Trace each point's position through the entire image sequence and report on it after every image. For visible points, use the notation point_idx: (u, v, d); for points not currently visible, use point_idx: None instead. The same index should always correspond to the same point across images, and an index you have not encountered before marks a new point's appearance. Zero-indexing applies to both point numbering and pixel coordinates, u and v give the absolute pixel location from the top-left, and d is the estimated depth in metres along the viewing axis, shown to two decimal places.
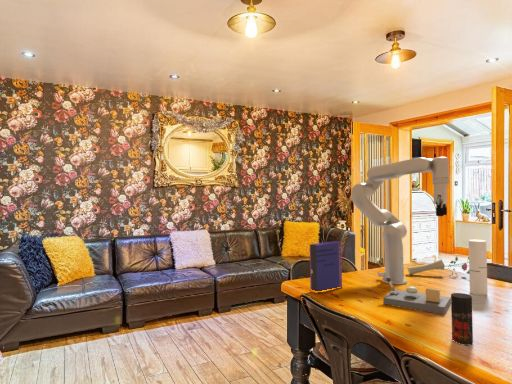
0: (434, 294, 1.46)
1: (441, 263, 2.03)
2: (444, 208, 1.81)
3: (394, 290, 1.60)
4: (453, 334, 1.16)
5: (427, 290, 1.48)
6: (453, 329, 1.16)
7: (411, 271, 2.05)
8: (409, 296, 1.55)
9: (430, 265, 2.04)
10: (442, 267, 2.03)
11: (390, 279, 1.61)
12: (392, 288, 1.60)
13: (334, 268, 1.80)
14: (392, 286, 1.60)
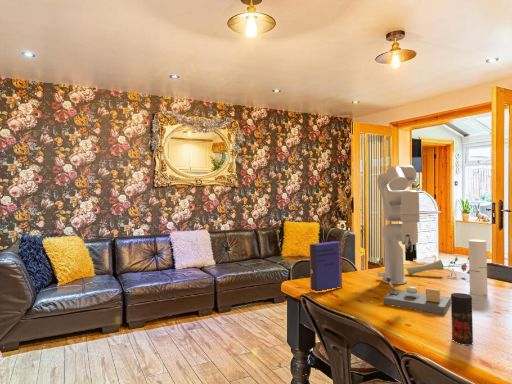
0: (434, 294, 1.46)
1: (440, 263, 2.02)
2: (414, 251, 1.57)
3: (394, 290, 1.60)
4: (453, 334, 1.16)
5: (427, 290, 1.48)
6: (453, 329, 1.16)
7: (410, 271, 2.05)
8: (409, 296, 1.55)
9: (429, 265, 2.04)
10: (441, 267, 2.02)
11: (390, 279, 1.61)
12: (392, 288, 1.60)
13: (334, 268, 1.80)
14: (392, 286, 1.60)
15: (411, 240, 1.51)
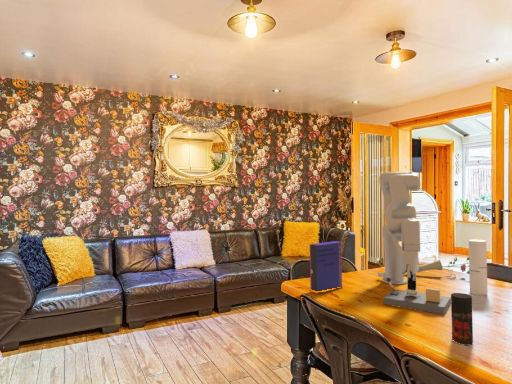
0: (434, 294, 1.46)
1: (439, 263, 2.02)
2: None
3: (394, 290, 1.60)
4: (453, 334, 1.16)
5: (427, 290, 1.48)
6: (453, 329, 1.16)
7: None
8: (409, 296, 1.55)
9: (428, 265, 2.04)
10: (440, 268, 2.02)
11: (390, 279, 1.61)
12: (392, 288, 1.60)
13: (334, 268, 1.80)
14: (392, 286, 1.60)
15: (412, 270, 1.50)
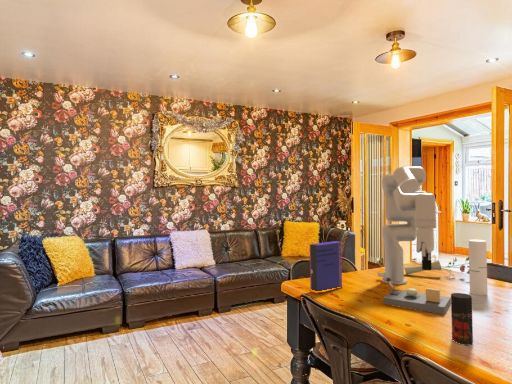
0: (434, 294, 1.46)
1: (438, 264, 2.01)
2: None
3: (394, 290, 1.60)
4: (453, 334, 1.16)
5: (427, 290, 1.48)
6: (453, 329, 1.16)
7: (407, 271, 2.06)
8: (409, 296, 1.55)
9: None
10: (439, 268, 2.01)
11: (390, 279, 1.61)
12: (392, 288, 1.60)
13: (334, 268, 1.80)
14: (392, 286, 1.60)
15: (427, 248, 1.37)
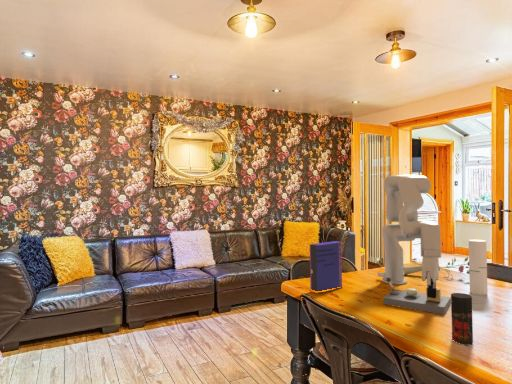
0: None
1: None
2: None
3: (394, 290, 1.60)
4: (453, 334, 1.16)
5: None
6: (453, 329, 1.16)
7: (405, 271, 2.06)
8: (409, 296, 1.55)
9: None
10: None
11: (390, 279, 1.61)
12: (392, 288, 1.60)
13: (334, 268, 1.80)
14: (392, 286, 1.60)
15: (432, 277, 1.41)
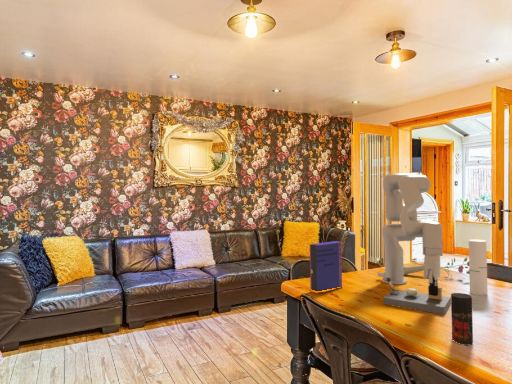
0: None
1: None
2: None
3: (394, 290, 1.60)
4: (453, 334, 1.16)
5: None
6: (453, 329, 1.16)
7: (404, 271, 2.06)
8: (409, 296, 1.55)
9: None
10: None
11: (390, 279, 1.61)
12: (392, 288, 1.60)
13: (334, 268, 1.80)
14: (392, 286, 1.60)
15: (434, 275, 1.44)
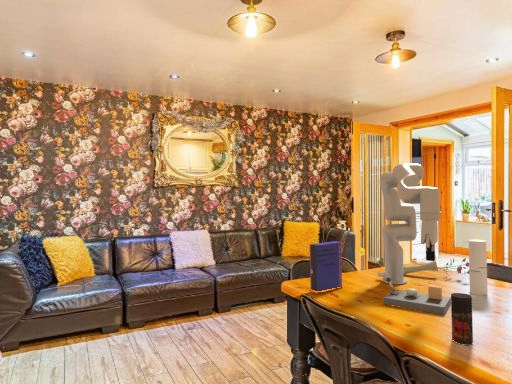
0: (436, 291, 1.50)
1: (434, 264, 2.00)
2: None
3: (394, 290, 1.60)
4: (453, 334, 1.16)
5: (429, 287, 1.52)
6: (453, 329, 1.16)
7: None
8: (409, 296, 1.55)
9: (423, 266, 2.03)
10: (435, 268, 2.00)
11: (390, 279, 1.61)
12: (392, 288, 1.60)
13: (334, 268, 1.80)
14: (392, 286, 1.60)
15: (431, 240, 1.43)
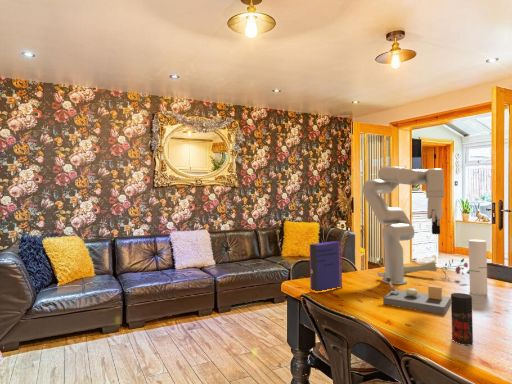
0: (436, 291, 1.50)
1: (432, 264, 1.99)
2: None
3: (394, 290, 1.60)
4: (453, 334, 1.16)
5: (429, 287, 1.52)
6: (453, 329, 1.16)
7: None
8: (409, 296, 1.55)
9: (421, 266, 2.03)
10: (433, 269, 1.99)
11: (390, 279, 1.61)
12: (392, 288, 1.60)
13: (334, 268, 1.80)
14: (392, 286, 1.60)
15: (437, 214, 1.61)
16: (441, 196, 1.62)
